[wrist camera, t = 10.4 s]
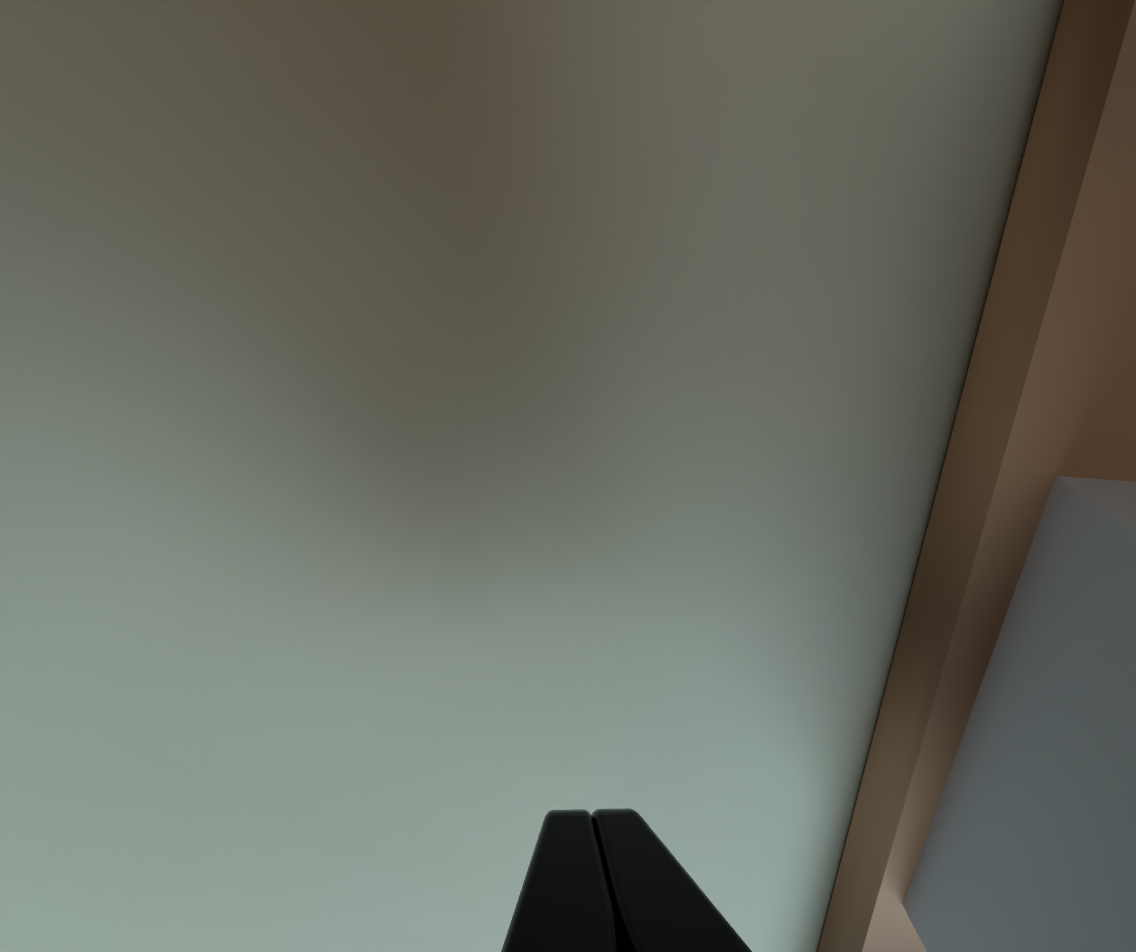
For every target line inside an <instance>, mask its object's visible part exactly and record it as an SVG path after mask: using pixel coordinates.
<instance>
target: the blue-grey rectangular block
mask: <svg viewBox="0 0 1136 952" xmlns="http://www.w3.org/2000/svg"><path fill="white" fill-rule="evenodd" d="M902 905H903V907H904V909H905V911H906V913H907V915H908V916H909V918H910V920H911V922H912V924H913V926H914V928H915V930H916V932H917V934H918V936H919V937H920V939H921V941H922V943H923V945H924V947H925V949H926V951H927V952H1136V482H1135V481H1121V480H1106V479H1091V478H1077V477H1062V476H1056V477H1055V479H1054V482H1053V485H1052V488H1051V491H1050V493H1049V496H1048V499H1047V502H1046V504H1045V507H1044V510H1043V513H1042V516H1041V518H1040V521H1039V524H1038V527H1037V530H1036V532H1035V535H1034V538H1033V541H1032V544H1031V546H1030V549H1029V552H1028V555H1027V558H1026V560H1025V563H1024V566H1023V569H1022V572H1021V574H1020V577H1019V580H1018V583H1017V586H1016V588H1015V591H1014V594H1013V597H1012V600H1011V602H1010V605H1009V608H1008V611H1007V613H1006V616H1005V619H1004V622H1003V625H1002V627H1001V630H1000V633H999V636H998V639H997V641H996V644H995V647H994V650H993V653H992V655H991V658H990V661H989V664H988V667H987V669H986V672H985V675H984V678H983V681H982V683H981V686H980V689H979V692H978V695H977V697H976V700H975V703H974V706H973V709H972V711H971V714H970V717H969V720H968V722H967V725H966V728H965V731H964V734H963V736H962V739H961V742H960V745H959V748H958V750H957V753H956V756H955V759H954V762H953V764H952V767H951V770H950V773H949V776H948V778H947V781H946V784H945V787H944V790H943V792H942V795H941V798H940V801H939V804H938V806H937V809H936V812H935V815H934V818H933V820H932V823H931V826H930V829H929V832H928V834H927V837H926V840H925V843H924V845H923V848H922V851H921V854H920V857H919V859H918V862H917V865H916V868H915V871H914V873H913V876H912V879H911V882H910V885H909V887H908V890H907V893H906V896H905V899H904V901H903V904H902Z"/></svg>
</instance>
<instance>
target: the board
mask: <svg viewBox="0 0 1136 952" xmlns="http://www.w3.org/2000/svg"><path fill="white" fill-rule="evenodd" d="M1056 476H1062V477H1077V478H1091V479H1106V480H1121V481H1135V482H1136V0H1064V3H1063V7H1062V10H1061V14H1060V18H1059V22H1058V26H1057V30H1056V34H1055V37H1054V41H1053V45H1052V49H1051V53H1050V57H1049V61H1048V64H1047V68H1046V72H1045V76H1044V80H1043V84H1042V88H1041V91H1040V95H1039V99H1038V103H1037V107H1036V111H1035V115H1034V118H1033V122H1032V126H1031V130H1030V134H1029V138H1028V142H1027V146H1026V149H1025V153H1024V157H1023V161H1022V165H1021V169H1020V173H1019V176H1018V180H1017V184H1016V188H1015V192H1014V196H1013V200H1012V203H1011V207H1010V211H1009V215H1008V219H1007V223H1006V227H1005V230H1004V234H1003V238H1002V242H1001V246H1000V250H999V254H998V257H997V261H996V265H995V269H994V273H993V277H992V281H991V284H990V288H989V292H988V296H987V300H986V304H985V308H984V311H983V315H982V319H981V323H980V327H979V331H978V335H977V338H976V342H975V346H974V350H973V354H972V358H971V362H970V365H969V369H968V373H967V377H966V381H965V385H964V389H963V392H962V396H961V400H960V404H959V408H958V412H957V416H956V419H955V423H954V427H953V431H952V435H951V439H950V443H949V446H948V450H947V454H946V458H945V462H944V466H943V470H942V473H941V477H940V481H939V485H938V489H937V493H936V497H935V501H934V504H933V508H932V512H931V516H930V520H929V524H928V528H927V531H926V535H925V539H924V543H923V547H922V551H921V555H920V558H919V562H918V566H917V570H916V574H915V578H914V582H913V585H912V589H911V593H910V597H909V601H908V605H907V609H906V612H905V616H904V620H903V624H902V628H901V632H900V636H899V639H898V643H897V647H896V651H895V655H894V659H893V663H892V666H891V670H890V674H889V678H888V682H887V686H886V690H885V693H884V697H883V701H882V705H881V709H880V713H879V717H878V720H877V724H876V728H875V732H874V736H873V740H872V744H871V747H870V751H869V755H868V759H867V763H866V767H865V771H864V774H863V778H862V782H861V786H860V790H859V794H858V798H857V801H856V805H855V809H854V813H853V817H852V821H851V825H850V828H849V832H848V836H847V840H846V844H845V848H844V852H843V856H842V859H841V863H840V867H839V871H838V875H837V879H836V883H835V886H834V890H833V894H832V898H831V902H830V906H829V910H828V913H827V917H826V921H825V925H824V929H823V933H822V937H821V940H820V944H819V948H818V952H927V951H926V949H925V947H924V945H923V943H922V941H921V939H920V937H919V936H918V934H917V932H916V930H915V928H914V926H913V924H912V922H911V920H910V918H909V916H908V915H907V913H906V911H905V909H904V907H903V905H902V904H903V901H904V899H905V896H906V893H907V890H908V887H909V885H910V882H911V879H912V876H913V873H914V871H915V868H916V865H917V862H918V859H919V857H920V854H921V851H922V848H923V845H924V843H925V840H926V837H927V834H928V832H929V829H930V826H931V823H932V820H933V818H934V815H935V812H936V809H937V806H938V804H939V801H940V798H941V795H942V792H943V790H944V787H945V784H946V781H947V778H948V776H949V773H950V770H951V767H952V764H953V762H954V759H955V756H956V753H957V750H958V748H959V745H960V742H961V739H962V736H963V734H964V731H965V728H966V725H967V722H968V720H969V717H970V714H971V711H972V709H973V706H974V703H975V700H976V697H977V695H978V692H979V689H980V686H981V683H982V681H983V678H984V675H985V672H986V669H987V667H988V664H989V661H990V658H991V655H992V653H993V650H994V647H995V644H996V641H997V639H998V636H999V633H1000V630H1001V627H1002V625H1003V622H1004V619H1005V616H1006V613H1007V611H1008V608H1009V605H1010V602H1011V600H1012V597H1013V594H1014V591H1015V588H1016V586H1017V583H1018V580H1019V577H1020V574H1021V572H1022V569H1023V566H1024V563H1025V560H1026V558H1027V555H1028V552H1029V549H1030V546H1031V544H1032V541H1033V538H1034V535H1035V532H1036V530H1037V527H1038V524H1039V521H1040V518H1041V516H1042V513H1043V510H1044V507H1045V504H1046V502H1047V499H1048V496H1049V493H1050V491H1051V488H1052V485H1053V482H1054V479H1055V477H1056Z"/></svg>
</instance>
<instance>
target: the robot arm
mask: <svg viewBox="0 0 1136 952" xmlns="http://www.w3.org/2000/svg"><path fill="white" fill-rule="evenodd" d="M501 952H752V951H751V950H750V949H749V947H748V946H747V945H746V944H745V943H744V941H743V940H742V939H741V938H740V937H739V935H738V934H737V933H736V932H735V930H734V929H733V928H732V927H731V926H730V924H729V923H728V922H727V921H726V919H725V918H724V917H723V916H722V915H721V913H720V912H719V911H718V910H717V908H716V907H715V906H714V905H713V904H712V902H711V901H710V900H709V899H708V897H707V896H706V895H705V894H704V893H703V891H702V890H701V889H700V888H699V887H698V885H697V884H696V883H695V882H694V880H693V879H692V878H691V877H690V876H689V874H688V873H687V872H686V871H685V869H684V868H683V867H682V866H681V865H680V863H679V862H678V861H677V860H676V858H675V857H674V856H673V855H672V854H671V852H670V851H669V850H668V849H667V847H666V846H665V845H664V844H663V843H662V841H661V840H660V839H659V838H658V837H657V835H656V834H655V833H654V832H653V830H652V829H651V828H650V827H649V826H648V824H647V823H646V822H645V821H644V819H643V818H642V817H641V816H640V815H639V814H638V813H637V812H636V811H634V810H632V809H598V810H596V811H594V812H593V813H592V815H590V813H589V812H588V811H586V810H552V811H550V812H548V813H547V815H546V816H545V819H544V822H543V825H542V828H541V831H540V834H539V837H538V840H537V843H536V846H535V850H534V853H533V856H532V859H531V862H530V865H529V868H528V871H527V874H526V877H525V880H524V883H523V886H522V890H521V893H520V896H519V899H518V902H517V905H516V908H515V911H514V914H513V917H512V920H511V923H510V926H509V930H508V933H507V936H506V939H505V942H504V945H503V948H502V951H501Z"/></svg>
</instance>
